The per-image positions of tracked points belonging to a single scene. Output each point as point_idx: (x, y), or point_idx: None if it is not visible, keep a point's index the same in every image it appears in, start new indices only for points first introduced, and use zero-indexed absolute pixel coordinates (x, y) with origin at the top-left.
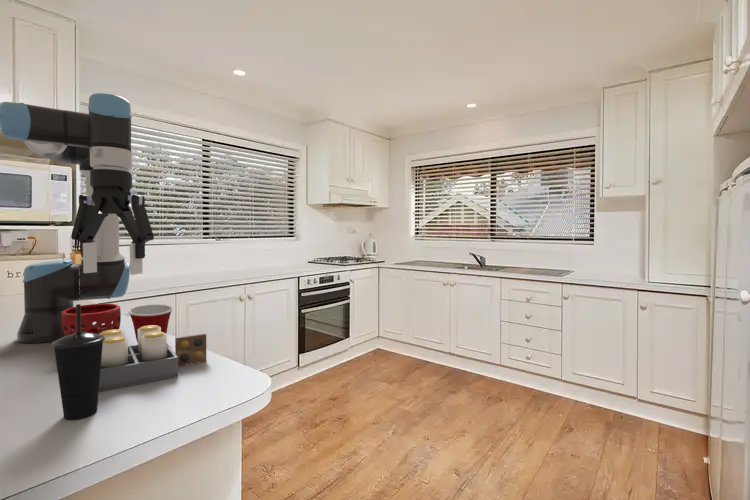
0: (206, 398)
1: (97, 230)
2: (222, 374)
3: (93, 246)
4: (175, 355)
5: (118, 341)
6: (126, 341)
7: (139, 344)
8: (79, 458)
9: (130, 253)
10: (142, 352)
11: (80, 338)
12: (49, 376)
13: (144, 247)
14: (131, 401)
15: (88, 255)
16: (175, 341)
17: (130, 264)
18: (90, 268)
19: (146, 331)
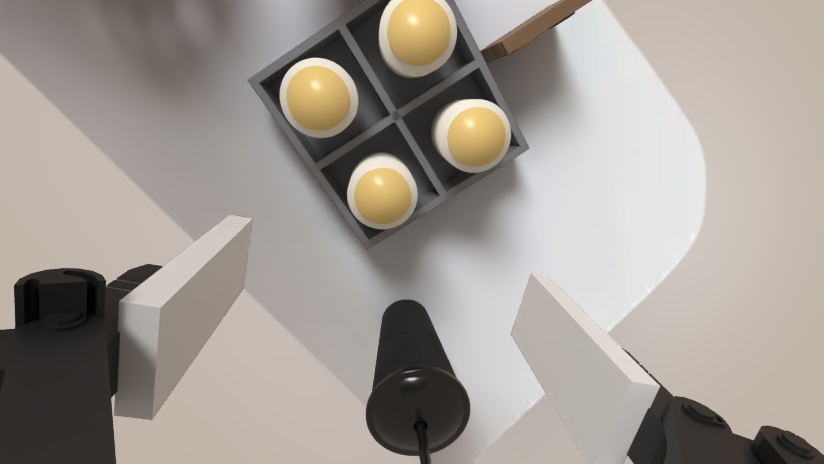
0: (599, 263)
1: (110, 426)
2: (611, 131)
3: (175, 320)
4: (518, 131)
5: (404, 212)
6: (417, 193)
7: (395, 71)
8: (480, 429)
9: (561, 413)
10: (441, 155)
11: (439, 442)
12: (187, 125)
13: (666, 395)
14: (466, 273)
15: (205, 331)
16: (499, 45)
17: (532, 366)
18: (238, 273)
19: (424, 73)
